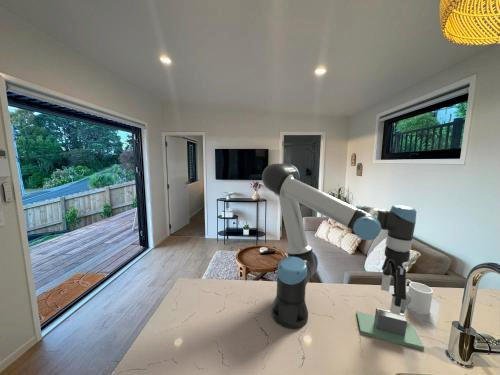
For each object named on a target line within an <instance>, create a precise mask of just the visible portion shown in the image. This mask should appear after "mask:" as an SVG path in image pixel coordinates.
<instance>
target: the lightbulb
mask: <svg viewBox="0 0 500 375" xmlns="http://www.w3.org/2000/svg"><path fill="white" fill-rule="evenodd" d="M410 302H411V296H410V294H409V293H408V290H407V291H406V300H403V299H402V304H401V310H400V313H402V314H404V315H405V310H406V309H407V307H408V306H407V305H408V304H410Z"/></svg>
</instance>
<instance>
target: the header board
mask: <svg viewBox="0 0 500 375" xmlns="http://www.w3.org/2000/svg"><path fill="white" fill-rule="evenodd" d="M356 318H357V323H358V329H359V334H361V335H365V336H368V337H369V336H370V337H372V338H377V339H379V340H384V341H387V342H392V343H396V344H399V345H404V346H407V347H410V348H414V349H419V350H422V351H424V350H425V345H424V343H423V342H422V340H421V338H420V336H419V335H418V333H417V330H416V328H415V326H414V325H413V324H412V323H408V322H407V326H406V333H405V336H401V335H397V334H393V333H389V332H386V331H382V330H378V329H376V325H375V322H374V320H375V314H370V313H365V312H361V311H356Z"/></svg>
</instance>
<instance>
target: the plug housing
mask: <svg viewBox="0 0 500 375" xmlns="http://www.w3.org/2000/svg"><path fill="white" fill-rule="evenodd" d="M374 315H375V320H374V322H375V325H376V329H378V330H382V331H386V332H389V333H393V334H397V335H401V336H405V333H406V326H407V323H408V320H407V318H406V316H405V313H404V314H402V313H400V314H396V313H392V312H390V310H389V309H385V308H381V307H375V312H374Z"/></svg>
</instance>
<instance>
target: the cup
mask: <svg viewBox="0 0 500 375" xmlns="http://www.w3.org/2000/svg"><path fill="white" fill-rule="evenodd" d="M408 284H409V285H408ZM407 285H408V290H407V288H406V291H407V292H408V293H409V294H410V296H411V302H410V304H408V305H407V306H406V307H408V309H409V310H411V311H412V312H414V313H417V314H419V315H425V316H426V315H429V314H430V312H431V307H432V306H431V305H432V300H433V293H434V290H433V289H432V288H431V287H430V286H428V285H426V284H423V283H421V282H418V281H417V282H415V281H412V280H410V279H408V278H407V279H406V286H407Z"/></svg>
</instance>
